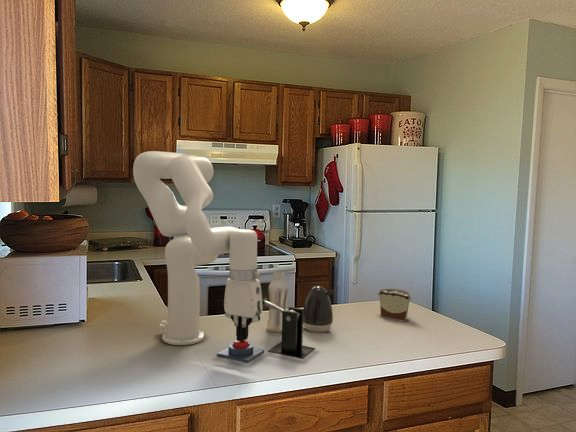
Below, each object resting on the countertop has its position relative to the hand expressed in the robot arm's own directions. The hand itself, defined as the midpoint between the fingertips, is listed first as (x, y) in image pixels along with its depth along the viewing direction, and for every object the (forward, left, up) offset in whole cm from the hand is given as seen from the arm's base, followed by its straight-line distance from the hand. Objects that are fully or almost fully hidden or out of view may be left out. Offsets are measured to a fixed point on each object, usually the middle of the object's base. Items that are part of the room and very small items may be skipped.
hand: (242, 339), depth 133 cm
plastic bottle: (-1, +24, -5) cm, 25 cm away
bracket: (+11, +10, -5) cm, 16 cm away
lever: (+6, +10, +6) cm, 13 cm away
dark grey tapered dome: (+10, +32, -5) cm, 34 cm away
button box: (0, 0, -5) cm, 5 cm away
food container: (+29, +62, -5) cm, 69 cm away
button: (0, 0, -2) cm, 2 cm away
